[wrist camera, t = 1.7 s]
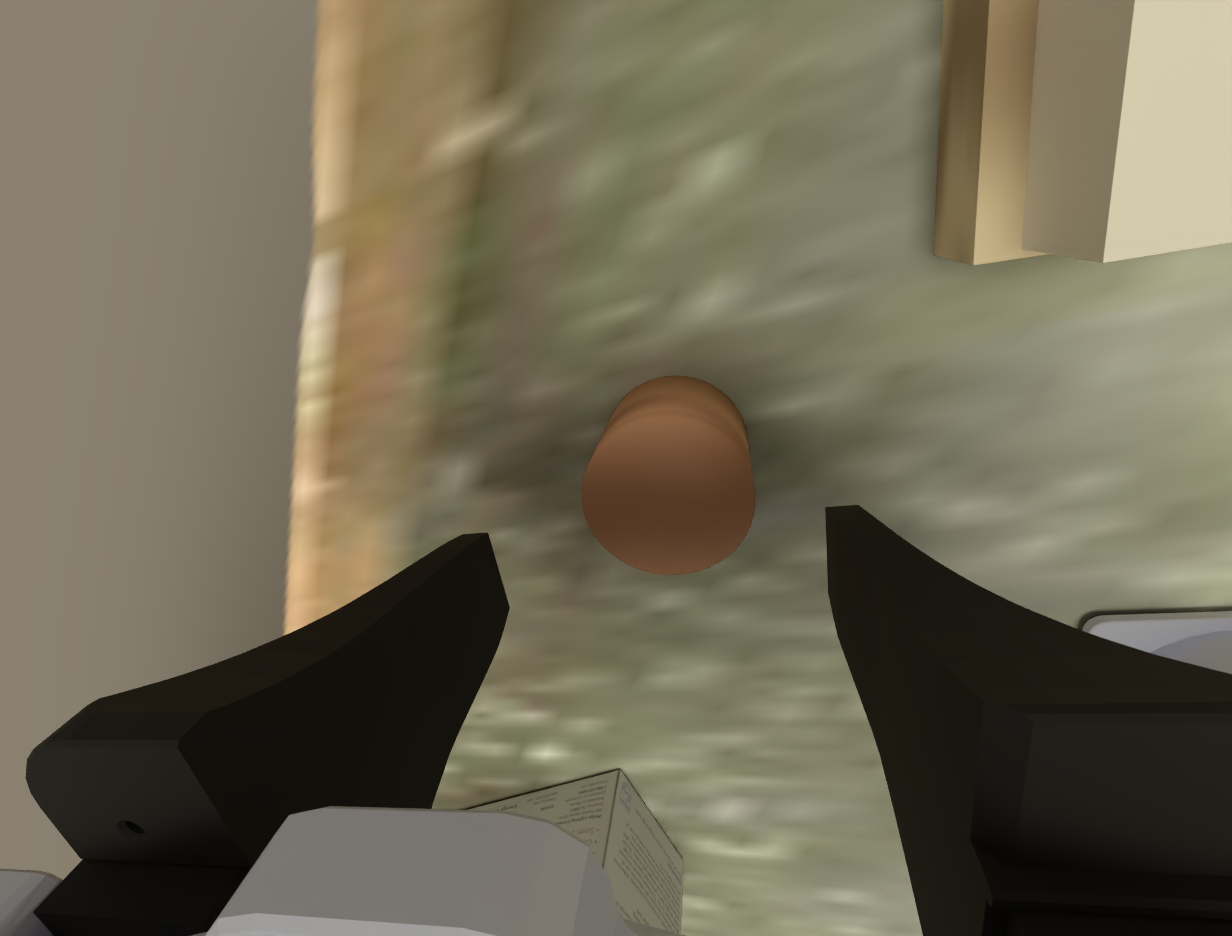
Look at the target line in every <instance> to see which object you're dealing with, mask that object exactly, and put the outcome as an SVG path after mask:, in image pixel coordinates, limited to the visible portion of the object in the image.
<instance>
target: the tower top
mask: <svg viewBox="0 0 1232 936" xmlns="http://www.w3.org/2000/svg"><path fill="white" fill-rule="evenodd" d="M1230 242H1232V0H1039V5H1038V19H1037V33H1036V47H1035V61H1034V75H1033V90H1032V104H1031V118H1030V132H1029V146H1028V160H1027V175H1026V189H1025V203H1024V218H1023V232H1022V246H1021V249H1023V250H1029V251H1035V252H1041V253H1047V254H1053V255H1059V256H1065V257H1071V258H1077V259H1083V260H1089V261H1095V262H1101V263H1105V262H1111V261H1118V260H1124V259H1130V258H1136V257H1143V256H1149V255H1155V254H1161V253H1168V252H1174V251H1180V250H1186V249H1193V248H1199V247H1205V246H1211V245H1217V244H1224V243H1230Z"/></svg>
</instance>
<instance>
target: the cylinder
mask: <svg viewBox="0 0 1232 936" xmlns="http://www.w3.org/2000/svg"><path fill="white" fill-rule="evenodd" d="M582 506H583V511H584V514H585V518H586V520H587V523H588V525H589V527H590V529H591V531H592V532H593V534H594V536H595V537H596V538H597V540H598V541H599V542H600V543H601V545H603V546H604V547H605V548H606V549H607V550H608V551H609V552H610V553H611V554H612V555H614V556H615V557H616V558H618V559H619V560H621V561H623V562H624V563H626V564H628V565H630V566H632V567H634V568H637V569H640V570H643V571H646V572H650V573H655V574H663V575H681V574H689V573H693V572H698V571H701V570H704V569H707V568H709V567H711V566H713V565H715V564H717V563H719V562H720V561H722V560H723V559H725V558H726V557H727V556H729V555H730V554H731V553H732V552H733V551H734V550H735V549H736V548H737V547H738V546H739V545H740V543H741V542H742V541H743V539H744V538H745V536H746V534H747V532H748V530H749V528H750V526H751V523H752V519H753V516H754V509H755V492H754V484H753V477H752V469H751V461H750V453H749V446H748V438H747V431H746V427H745V424H744V420H743V418H742V416H741V414H740V412H739V410H738V409H737V407H736V406H735V404H734V403H733V402H732V401H731V400H730V398H729V397H728V396H727V395H725V394H724V393H723V392H722V391H721V390H719V389H718V388H716V387H715V386H713V385H711V384H709V383H707V382H705V381H702V380H699V379H696V378H691V377H686V376H666V377H661V378H656V379H653V380H650V381H647V382H645V383H643V384H641V385H639V386H638V387H636V388H635V389H633V390H632V391H631V392H629V393H628V394H627V395H626V396H625V397H624V398H623V399H622V400H621V402H620V403H619V404H618V406H617V407H616V409H615V411H614V413H613V415H612V417H611V419H610V421H609V423H608V425H607V427H606V429H605V431H604V433H603V435H602V438H601V440H600V442H599V444H598V446H597V448H596V450H595V452H594V454H593V456H592V458H591V460H590V462H589V465H588V467H587V469H586V472H585V475H584V478H583V483H582Z"/></svg>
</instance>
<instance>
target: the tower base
mask: <svg viewBox="0 0 1232 936" xmlns="http://www.w3.org/2000/svg"><path fill="white" fill-rule="evenodd" d="M1038 5H1039V0H943V23H942V50H941V77H940V104H939V131H938V158H937V185H936V212H935V240H934V255H935V256H939V257H943V258H947V259H950V260H954V261H958V262H962V263H966V264H970V265H979V264H986V263H993V262H999V261H1006V260H1013V259H1019V258H1026V257H1033V256H1040V255H1046V254H1047V253H1041V252H1035V251H1029V250H1023V249H1021V246H1022V232H1023V218H1024V203H1025V189H1026V175H1027V160H1028V146H1029V132H1030V118H1031V104H1032V90H1033V75H1034V61H1035V47H1036V33H1037V19H1038Z"/></svg>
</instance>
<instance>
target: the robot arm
mask: <svg viewBox="0 0 1232 936" xmlns="http://www.w3.org/2000/svg"><path fill="white" fill-rule="evenodd" d="M825 509H826V539H827V569H828V594H829V598H830V603H831V608H832V613H833V617H834V622H835V626H836V630H837V635H838V638H839V641H840V644H841V646H842V649H843V652H844V655H845V658H846V660H847V663H848V666H849V669H850V671H851V674H852V677H853V680H854V682H855V685H856V688H857V691H858V693H859V696H860V699H861V702H862V704H863V707H864V710H865V712H866V715H867V718H868V721H869V723H870V726H871V729H872V732H873V734H874V738H875V741H876V744H877V747H878V750H879V754H880V757H881V761H882V765H883V769H884V773H885V777H886V781H887V785H888V789H889V793H890V797H891V801H892V804H893V808H894V813H895V817H896V821H897V825H898V829H899V834H900V838H901V842H902V846H903V850H904V854H905V859H906V863H907V867H908V871H909V876H910V880H911V884H912V889H913V893H914V898H915V902H916V906H917V911H918V915H919V920H920V924H921V928H922V933H923V936H1232V611H1217V612H1187V613H1158V614H1129V615H1102V616H1096V617H1094V618H1092V619H1090V620H1088V621H1087V622H1086V623H1085V624H1084V627H1083V629H1082V630H1079V629H1076V628H1073V627H1071V626H1068V625H1066V624H1063V623H1061V622H1058V621H1056V620H1053V619H1051V618H1048V617H1046V616H1043V615H1041V614H1038V613H1036V612H1033V611H1031V610H1029V609H1026V608H1024V607H1022V606H1019V605H1017V604H1015V603H1013V602H1011V601H1008V600H1006V599H1004V598H1002V597H1000V596H998V595H996V594H994V593H992V592H990V591H988V590H986V589H984V588H982V587H980V586H978V585H976V584H975V583H973V582H971V581H969V580H967V579H965V578H964V577H962V576H960V575H958V574H957V573H955V572H953V571H952V570H950V569H949V568H947V567H945V566H944V565H942V564H940V563H939V562H937V561H935V560H934V559H932V558H931V557H929V556H928V555H926V554H925V553H923V552H922V551H920V550H919V549H917V548H916V547H914V546H913V545H911V544H910V543H909V542H907V541H906V540H904V539H903V538H901V537H900V536H899V535H897V534H896V533H895V532H893V531H892V530H891V529H889V528H888V527H887V526H885V525H884V524H883V523H881V522H880V521H879V520H877V519H876V518H875V517H874V516H872V515H871V514H870V513H868V512H867V511H866V510H864V509H863V508H862V507H860V506H859V505H849V506H836V507H825ZM509 608H510V607H509V604H508V600H507V597H506V593H505V590H504V586H503V583H502V579H501V576H500V573H499V569H498V566H497V562H496V559H495V555H494V552H493V548H492V545H491V541H490V538H489V535H488V533H476V534H463V535H461V536H459V537H456V538H454V539H453V540H451V541H449V542H447V543H445V544H444V545H442V546H440V547H439V548H437V549H436V550H434V551H432V552H431V553H429V554H428V555H426V556H424V557H423V558H421V559H420V560H418V561H417V562H415V563H414V564H412V565H410V566H409V567H407V568H406V569H404V570H403V571H401V572H400V573H398V574H396V575H395V576H393V577H392V578H390V579H389V580H387V581H385V582H384V583H382V584H380V585H379V586H377V587H375V588H374V589H372V590H370V591H369V592H367V593H365V594H364V595H362V596H360V597H359V598H357V599H355V600H354V601H352V602H350V603H348V604H347V605H345V606H343V607H341V608H339V609H338V610H336V611H334V612H332V613H330V614H328V615H326V616H324V617H322V618H320V619H318V620H316V621H314V622H312V623H310V624H308V625H306V626H304V627H302V628H300V629H298V630H296V631H294V632H292V633H289V634H287V635H285V636H282V637H280V638H278V639H275V640H273V641H271V642H269V643H266V644H264V645H262V646H259V647H257V648H254V649H252V650H250V651H247V652H245V653H242V654H240V655H237V656H234V657H232V658H229V659H226V660H224V661H221V662H218V663H215V664H213V665H210V666H207V667H204V668H201V669H198V670H195V671H192V672H189V673H186V674H183V675H180V676H177V677H174V678H171V679H168V680H164V681H161V682H157V683H153V684H150V685H147V686H143V687H139V688H136V689H132V690H129V691H125V692H122V693H118V694H115V695H111V696H107V697H103V698H100V699H98V700H96V701H94V702H92V703H91V704H89V705H87V706H86V707H85V708H83V709H82V710H81V711H80V712H79V713H77V714H76V715H75V716H74V717H72V718H71V719H70V720H69V721H67V722H66V723H65V724H64V725H62V726H61V727H60V728H59V729H58V730H56V731H55V732H54V733H53V734H51V735H50V736H49V737H48V738H47V739H46V740H44V741H43V742H42V743H40V744H39V745H38V746H37V747H36V748H34V749H33V751H32V752H31V754H30V755H29V757H28V759H27V767H26V780H27V783H28V786H29V789H30V792H31V794H32V795H33V797H34V799H35V800H36V802H37V803H38V805H39V806H40V808H41V809H42V810H43V812H44V813H45V814H46V815H47V817H48V818H49V819H50V821H51V822H52V823H53V824H54V825H55V827H56V828H57V829H58V831H59V832H60V833H61V834H62V836H63V837H64V838H65V839H66V841H67V842H68V843H69V844H70V846H71V847H72V848H73V850H74V851H75V852H76V853H77V855H78V856H79V857H80V858H81V859H83V860H82V861H81V862H80V863H79V864H78V865H77V866H76V867H75V868H74V869H73V870H72V871H71V872H70V873H69V875H68V876H67V877H66V878H65V879H64V880H62V879H60V878H59V877H57V876H55V875H53V874H51V873H47V872H43V871H33V870H16V869H0V936H685V935H681V934H677V933H674V932H670V931H667V930H663V929H659V928H656V927H652V926H648V925H645V924H641V923H638V922H634V921H630V920H626V919H622V918H621V916H620V914H619V912H618V909H617V905H616V902H615V898H614V894H613V891H612V887H611V883H610V879H609V877H608V875H607V874H606V872H605V871H604V869H603V868H602V866H601V865H600V863H599V862H598V860H597V859H596V857H595V856H594V854H593V853H592V851H591V850H590V848H589V847H588V846H587V844H586V843H585V842H584V841H583V840H581V839H580V838H578V837H576V836H575V835H573V834H571V833H570V832H568V831H567V830H565V829H563V828H562V827H560V826H558V825H557V824H555V823H553V822H552V821H550V820H548V819H543V818H538V817H533V816H529V815H524V814H519V813H514V812H509V811H489V810H453V809H431V808H432V804H433V801H434V798H435V795H436V792H437V789H438V786H439V783H440V781H441V778H442V775H443V772H444V769H445V766H446V763H447V760H448V757H449V754H450V752H451V750H452V747H453V745H454V742H455V740H456V738H457V735H458V733H459V731H460V729H461V726H462V724H463V722H464V720H465V718H466V716H467V714H468V712H469V709H470V707H471V705H472V703H473V701H474V699H475V697H476V694H477V692H478V690H479V688H480V686H481V684H482V682H483V680H484V677H485V675H486V673H487V671H488V669H489V666H490V664H491V662H492V660H493V658H494V655H495V653H496V651H497V649H498V646H499V643H500V640H501V637H502V633H503V630H504V627H505V623H506V619H507V616H508V612H509Z"/></svg>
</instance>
